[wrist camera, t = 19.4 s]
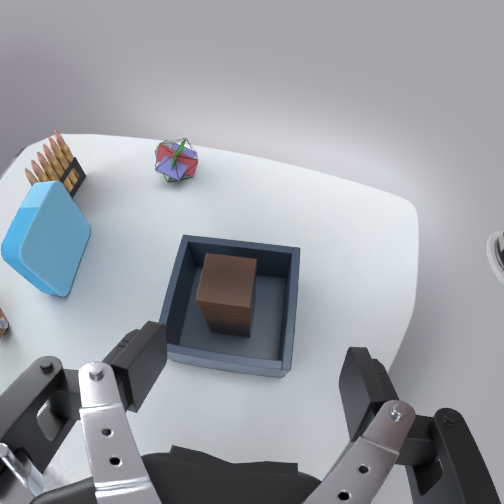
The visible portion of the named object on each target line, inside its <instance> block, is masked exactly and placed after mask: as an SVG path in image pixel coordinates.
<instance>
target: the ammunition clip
mask: <svg viewBox="0 0 504 504" xmlns="http://www.w3.org/2000/svg"><path fill="white" fill-rule="evenodd" d="M55 138H56V141H57V143H58V146H59V147H58V146H57V144H56V143H55V141H54V140H53V139H52V138H51V137H49V144H50V147H51V149H52V151H53V153H54V155H55V157H54V155H53V154H52V152H51V150H50V149H49V148H48V147H47V146H46V145H45V144H43V149H44V153H45V155H46V157H47V159H48V161H49V163H48V162H47V160H46V159H45V157H44V156H43V155H42V154H41V153H40V152H37V156H38V160H39V162H40V164H41V166H42V168H43V170H44V172H45V174H44V172H43V171H42V170H41V168H40V167H39V165H38V164H37V163H36V162H35V161H33V160H31V165H32V168H33V170H34V172H35V174H36V176H37V177H38V179H39V181H38V180H37V179H36V178H35V176H34V175H33V174H32V173H31V172H30V171H29V170H28V169H26V168H25V173H26V176H27V178H28V180H29V182H30V183H31V185H32V186H33V185H34V184H35V183H37V182H48V181H60V182H61V183H62V184H63V185H64V187H65V188H66V190H67V192H68V193H69V195H70V196H71V198H73V197H74V195H75V193H76V191H77V190H78V188H79V186H80V185H81V183H82V182H83V180H84V178H85V177H86V175H85V173H84V171H83V170H82V168H81V166H80V164H79V163H78V161H77V159H76V157H73V155H72V153H71V151H70V149H69V147H68V146H67V145H66V143H65V142H64V140H63V138H62V137H61V135H60V134H59V133H58V132H57V131H55ZM59 148H60V149H59ZM49 164H50V165H49Z"/></svg>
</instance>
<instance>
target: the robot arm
mask: <svg viewBox="0 0 504 504" xmlns="http://www.w3.org/2000/svg"><path fill="white" fill-rule="evenodd" d="M494 250H495V255H496V258H497V260H498V263H499V265H500V266H501V268H502V269H503V271H504V232H503V233H502V234H501V235H500V236H499V237H498V238H497V239H496V240H495V243H494ZM167 355H168V352H167V336H166V326H165V324H162V323H157V322H152V321H148V322H147V323H146V324H145V325H144V326H143V327H142V328H141V329H140V330H138V329H136V330H134V331H132V332H130V333H128V334H126V336H125V337H124V338H123V339H122V341H120V342H119V343H118V344H117V346H115V347H114V349H113V350H112V351H111V352H110V353H109V354H108V355H107V356H106V357H105V358H104V360H103V361H102V362H91V363H88V364H85V365H84V366H83V367H81V369H80V370H79V371H78V370H69V369H63V366H62V363H61V361H60V360H59V359H58V358H56V357H53V356H45V357H41V358H39V359H37V360H36V361H35V362H33V363H32V364H31V365H30V366H29V367H28V368H27V369H26V370H25V371H24V372H23V373H22V374H21V375H20V376H19V377H18V378H17V379H16V380H15V381H14V382H13V383H12V384H11V385H10V386H9V387H8V388H7V389H6V390H5V391H4V392H3V393H2V394H1V395H0V504H370V503H371V501H372V500H373V498H374V497H375V495H376V494H377V492H378V491H379V489H380V487H381V486H382V484H383V482H384V481H385V479H386V477H387V476H388V474H389V472H390V471H391V469H392V467H393V465H394V464H399V465H405V468H406V472H407V476H408V481H409V485H410V489H411V495H412V500H413V504H501V502H500V500H499V497H498V494H497V492H496V489H495V486H494V484H493V481H492V479H491V476H490V474H489V471H488V469H487V467H486V465H485V462H484V460H483V458H482V456H481V453H480V451H479V449H478V447H477V445H476V442H475V440H474V438H473V436H472V434H471V432H470V430H469V428H468V426H467V424H466V422H465V420H464V418H463V417H462V415H461V414H460V413H459V412H457V411H456V410H454V409H450V408H442V409H439V410H438V411H437V412H436V413H435V415H434V416H433V417H427V416H420V415H416V414H415V411H414V409H413V408H412V407H411V406H410V405H409V404H407V403H405V402H403V401H399V398H398V397H397V394H396V392H395V389H394V387H393V385H392V383H391V381H390V378H389V376H388V375H387V372H386V370H385V368H384V366H383V365H382V364H381V363H380V362H379V361H378V360H377V359H371V356H370V354H369V352H368V350H367V348H365V347H349V349H348V351H347V354H346V357H345V361H344V364H343V367H342V370H341V374H340V378H339V389H340V394H341V398H342V403H343V408H344V412H345V417H346V422H347V427H348V432H349V437H350V442H355V443H354V444H353V446H352V447H351V448H350V449H349V451H348V452H347V453H346V455H345V456H344V457H343V458H342V459H341V461H340V462H339V463H338V465H337V466H336V467H335V468H334V469H333V470H332V471H331V473H330V474H329V475H328V476H327V477H326V478H325V479H324V481H323V482H322V481H320V480H319V479H317V478H315V477H313V476H310V475H308V474H305V473H302V472H298V463H283V462H269V461H264V462H253V463H238V464H233V463H229V462H226V461H224V460H221V459H218V458H216V457H213V456H211V455H208V454H206V453H203V452H200V451H195V450H191V449H186V448H182V447H178V446H174V445H172V447H171V449H170V452H169V453H152V454H147V455H143V456H140V454H139V451H138V448H137V446H136V443H135V440H134V438H133V435H132V432H131V429H130V426H129V423H128V420H127V417H126V414H125V413H126V411H127V410H129V411H132V412H135V413H137V412H138V410H139V408H140V407H141V405H142V403H143V402H144V400H145V398H146V396H147V395H148V393H149V391H150V390H151V388H152V386H153V385H154V383H155V381H156V380H157V378H158V376H159V375H160V373H161V371H162V370H163V368H164V366H165V364H166V361H167ZM45 402H46V404H47V406H46V407H45V409H44V410H43V411H42V412H41V414H40V415H39V416H38V417H37V413H38V411H39V410H40V408H41V407H42V406H43V405H44V403H45ZM77 420H81V423H82V429H83V435H84V441H85V446H86V451H87V456H88V460H89V465H90V469H91V473H92V477H89V478H87V479H84V480H81V481H79V482H76V483H73V484H70V485H67V486H64V487H61V488H58V489H54V490H51V491H48V492H45V493H44V491H43V488H44V479H43V476H42V474H43V473H44V471H45V469H46V468H47V466H48V464H49V463H50V461H51V460H52V458H53V456H54V455H55V453H56V452H57V450H58V449H59V447H60V445H61V444H62V442H63V441H64V439H65V438H66V436H67V435H68V433H69V432H70V430H71V429H72V427H73V426H74V424H75V423H76V421H77ZM439 459H440V461H439ZM440 462H441V464H440ZM441 465H442V467H441ZM442 468H443V470H442Z"/></svg>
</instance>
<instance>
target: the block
mask: <svg viewBox="0 0 504 504" xmlns="http://www.w3.org/2000/svg"><path fill="white" fill-rule="evenodd" d="M256 273H257V259H252V258H243V257H235V256H227V255H218V254H210V253H207V254H206V257H205V262H204V266H203V270H202V274H201V278H200V283H199V287H198V291H197V296H196V301H197V304H198V306H199V308H200V310H201V312H202V314H203V316H204V318H205V320H206V322H207V324H208V326H209V328H210V330H211V332H215V333H222V334H228V335H235V336H242V337H251V330H252V323H253V316H254V308H255V301H256Z"/></svg>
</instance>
